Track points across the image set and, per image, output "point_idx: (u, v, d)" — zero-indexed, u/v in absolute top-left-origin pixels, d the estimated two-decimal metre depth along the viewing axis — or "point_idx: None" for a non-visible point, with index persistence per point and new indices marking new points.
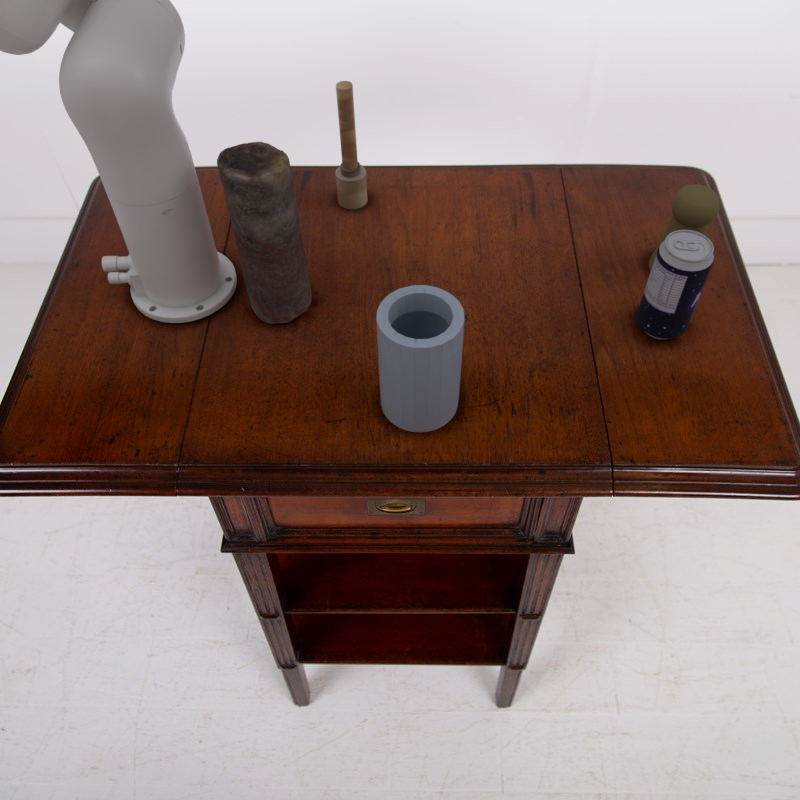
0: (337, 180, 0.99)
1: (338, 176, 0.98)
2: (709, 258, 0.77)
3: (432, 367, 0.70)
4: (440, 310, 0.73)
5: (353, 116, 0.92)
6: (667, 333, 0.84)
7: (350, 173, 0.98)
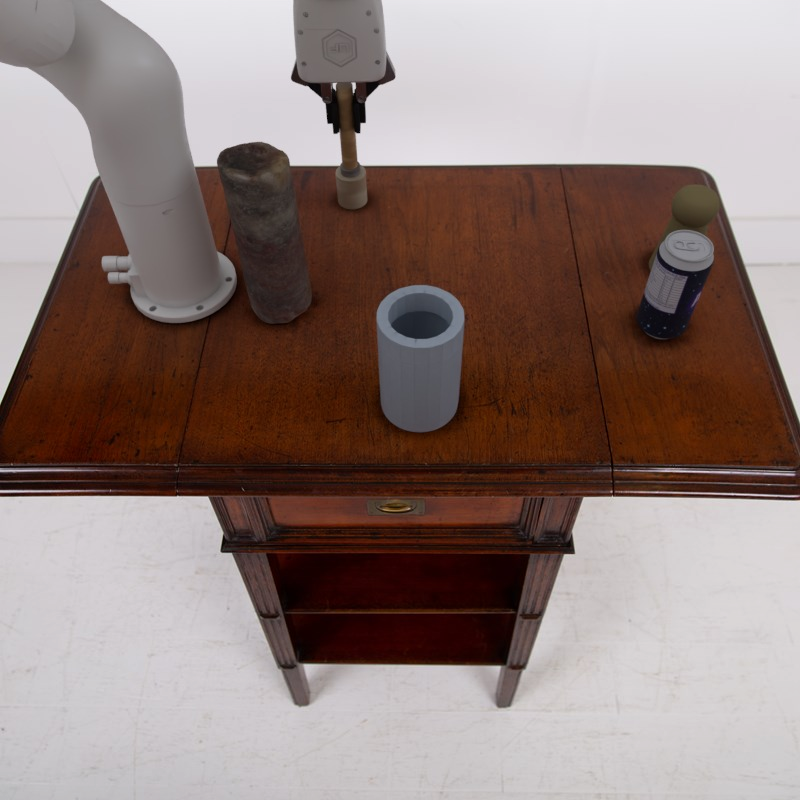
0: (337, 180, 0.99)
1: (338, 176, 0.98)
2: (709, 258, 0.77)
3: (432, 367, 0.70)
4: (440, 310, 0.73)
5: None
6: (667, 333, 0.84)
7: (350, 173, 0.98)
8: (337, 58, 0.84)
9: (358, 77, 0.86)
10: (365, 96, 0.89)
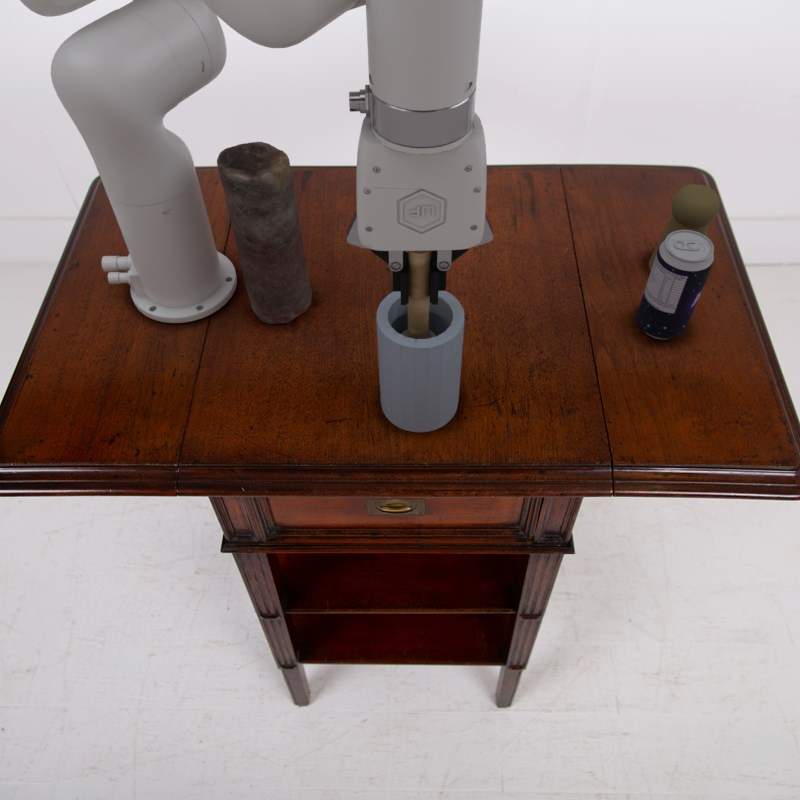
0: None
1: None
2: (709, 258, 0.77)
3: (432, 367, 0.70)
4: (440, 310, 0.73)
5: (429, 282, 0.67)
6: (667, 333, 0.84)
7: None
8: (417, 223, 0.59)
9: (444, 245, 0.61)
10: (449, 263, 0.64)
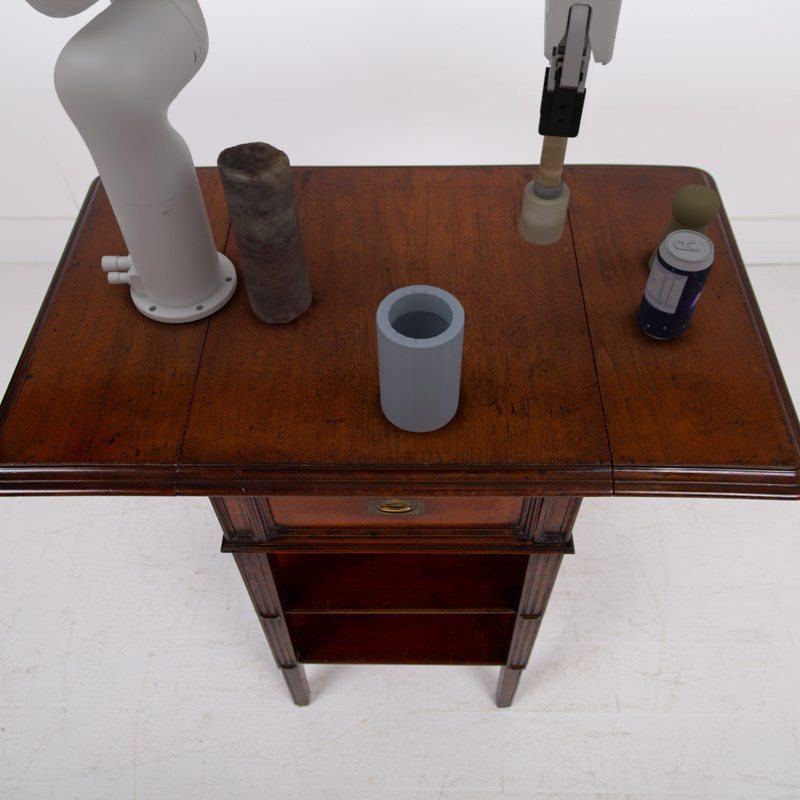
0: (556, 209, 0.66)
1: (557, 202, 0.66)
2: (709, 258, 0.77)
3: (432, 367, 0.70)
4: (440, 310, 0.73)
5: None
6: (667, 333, 0.84)
7: (563, 185, 0.66)
8: None
9: None
10: None
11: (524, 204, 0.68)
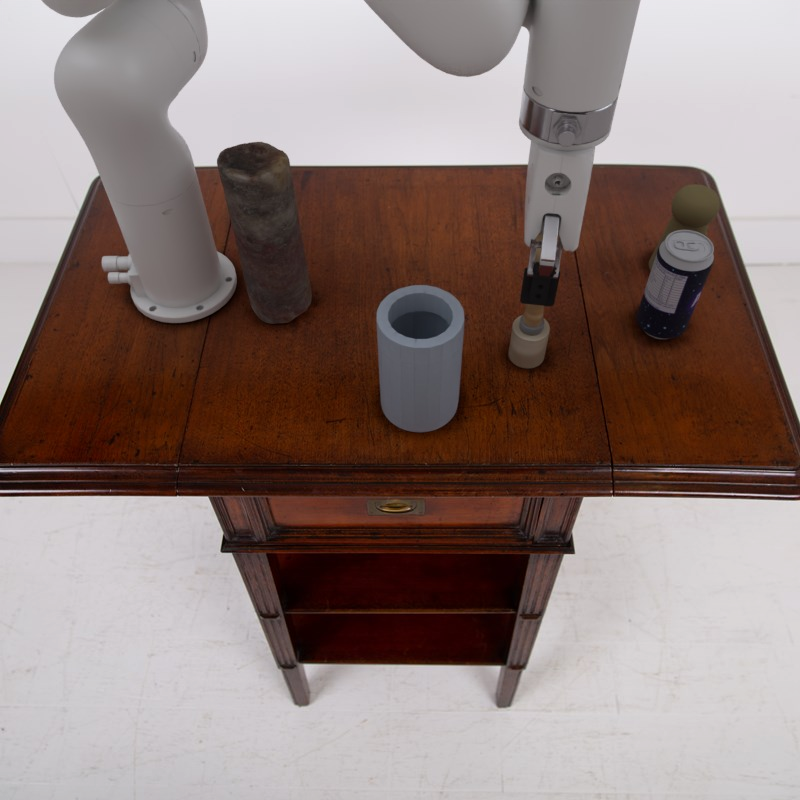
0: (538, 343, 0.80)
1: (539, 338, 0.80)
2: (709, 258, 0.77)
3: (432, 367, 0.70)
4: (440, 310, 0.73)
5: None
6: (667, 333, 0.84)
7: (544, 323, 0.81)
8: None
9: None
10: None
11: (512, 337, 0.82)
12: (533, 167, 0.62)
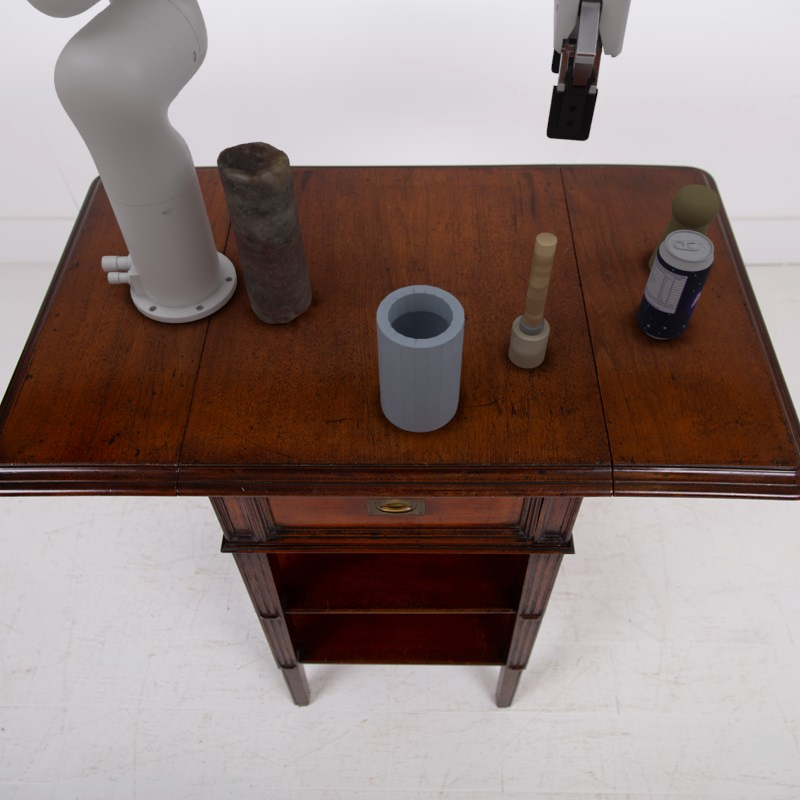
0: (538, 343, 0.80)
1: (539, 338, 0.80)
2: (709, 258, 0.77)
3: (432, 367, 0.70)
4: (440, 310, 0.73)
5: None
6: (667, 333, 0.84)
7: (544, 323, 0.81)
8: None
9: None
10: None
11: (512, 337, 0.82)
12: None
